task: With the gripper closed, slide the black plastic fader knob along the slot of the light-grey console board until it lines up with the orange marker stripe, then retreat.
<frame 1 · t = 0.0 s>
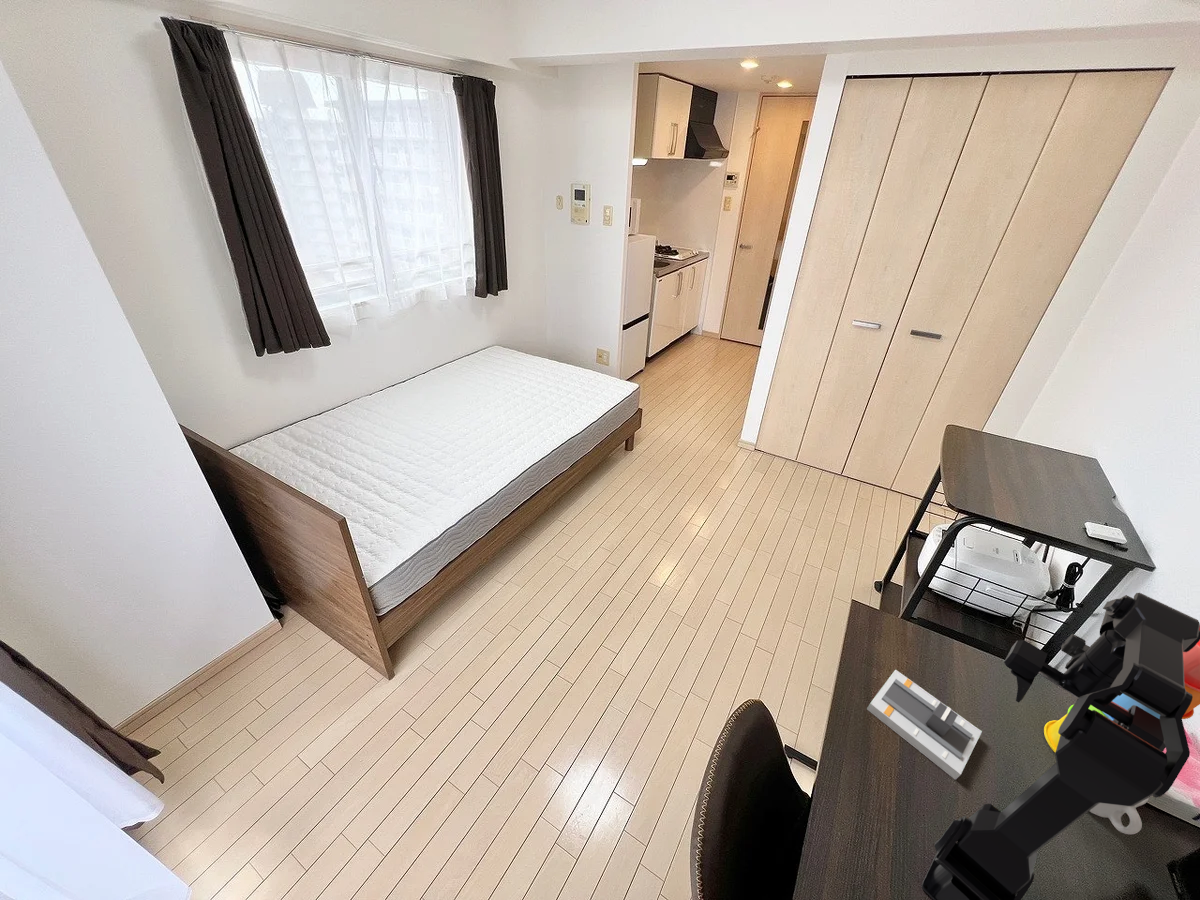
hand: (1050, 721, 80), 15 cm above the table, fingers open, 9 cm apart
fader knob: (941, 719, 90), point 4 cm above the table, slide at -2.0 cm
console board: (920, 722, 93), on the table
stacking cups: (1075, 750, 91), on the table
cup: (1092, 807, 83), on the table
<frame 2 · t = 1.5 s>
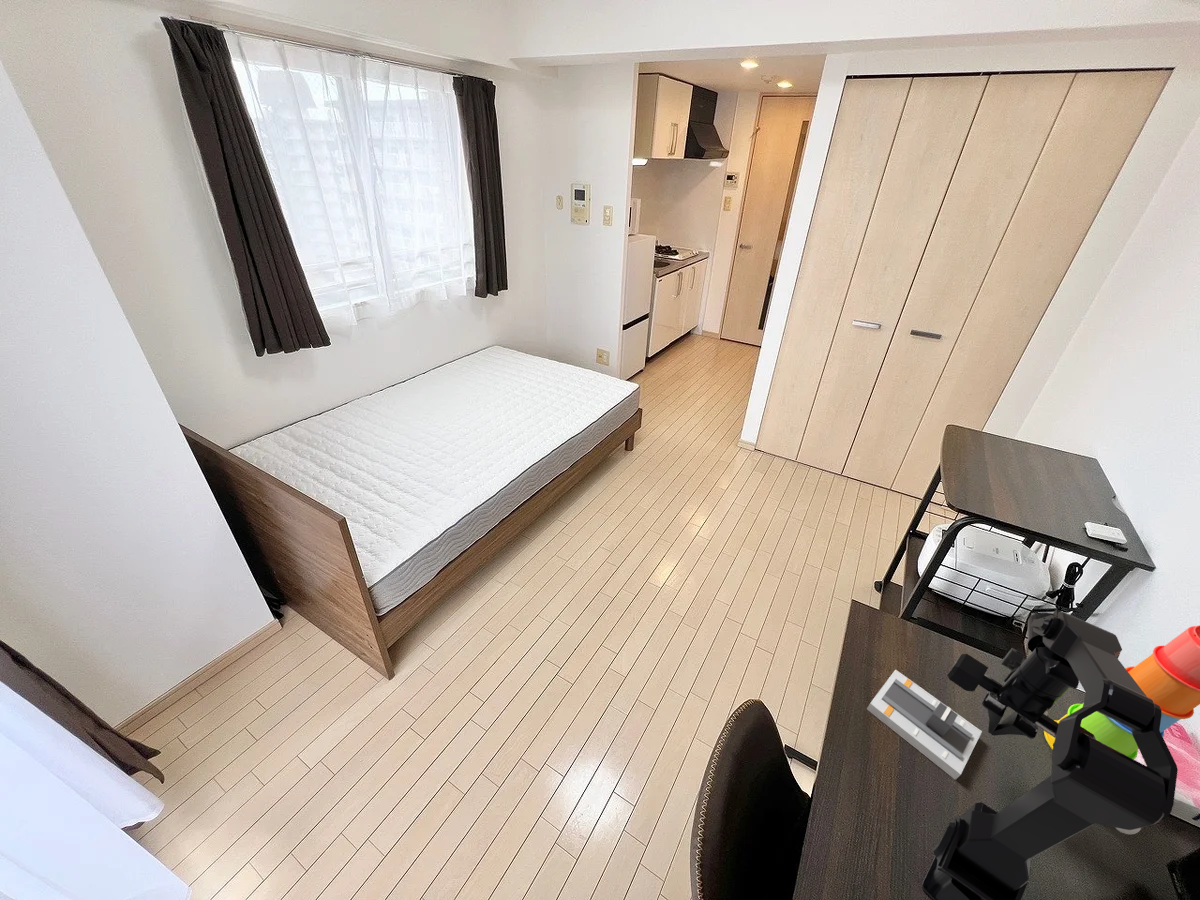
hand: (991, 732, 83), 9 cm above the table, fingers closed
nothing on the table moved.
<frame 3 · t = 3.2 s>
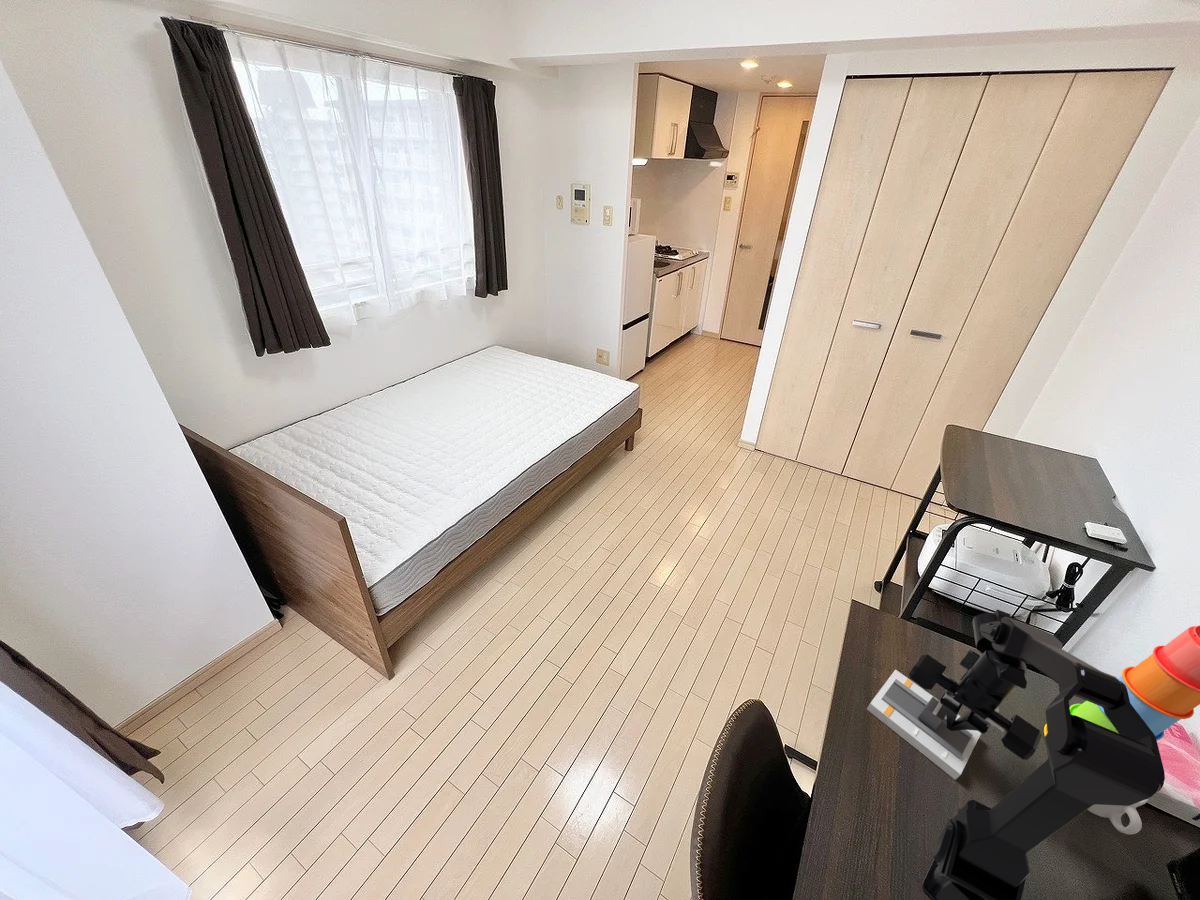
hand: (949, 727, 89), 4 cm above the table, fingers closed
fader knob: (933, 713, 91), point 4 cm above the table, slide at -0.6 cm, touching gripper
everything else where it was.
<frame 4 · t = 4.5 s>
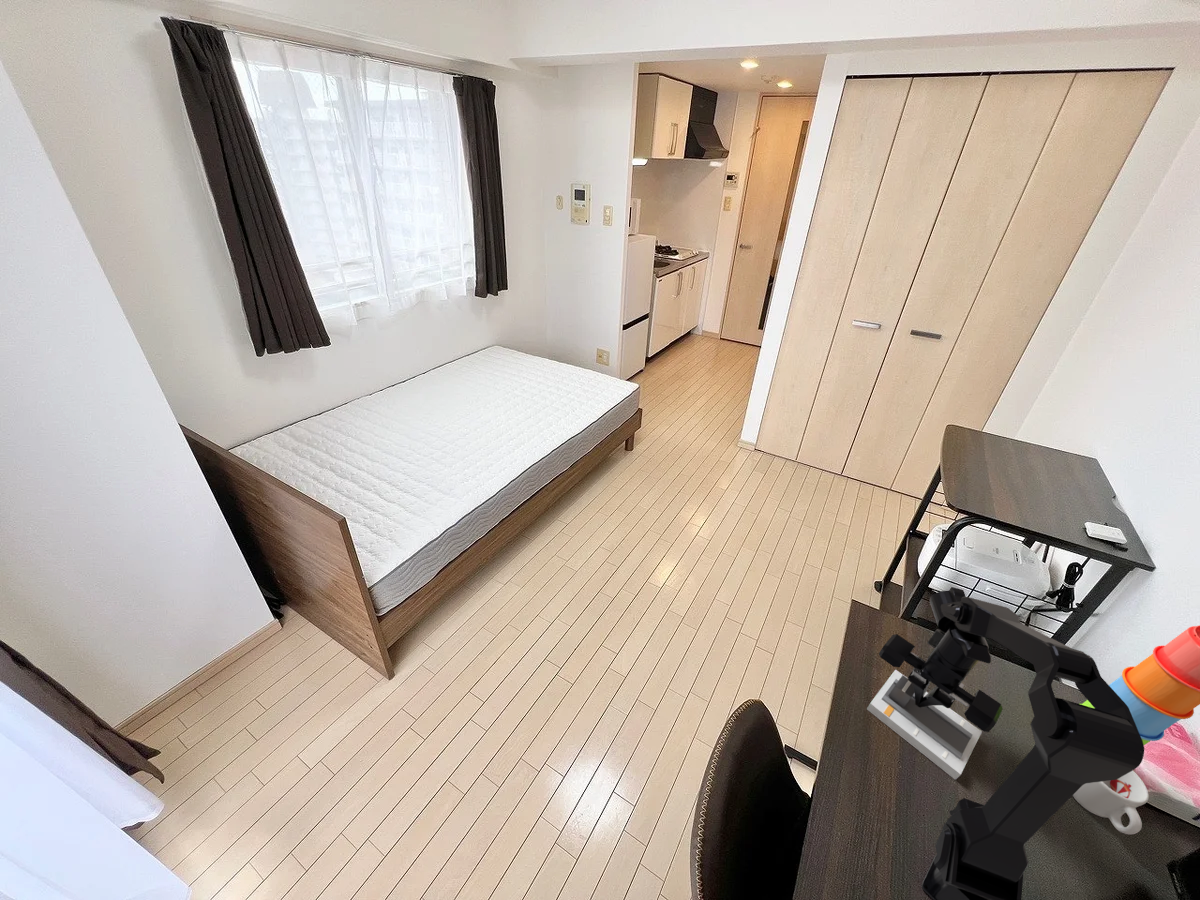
hand: (918, 704, 93), 4 cm above the table, fingers closed
fader knob: (903, 690, 94), point 4 cm above the table, slide at 4.9 cm, touching gripper
everything else where it was.
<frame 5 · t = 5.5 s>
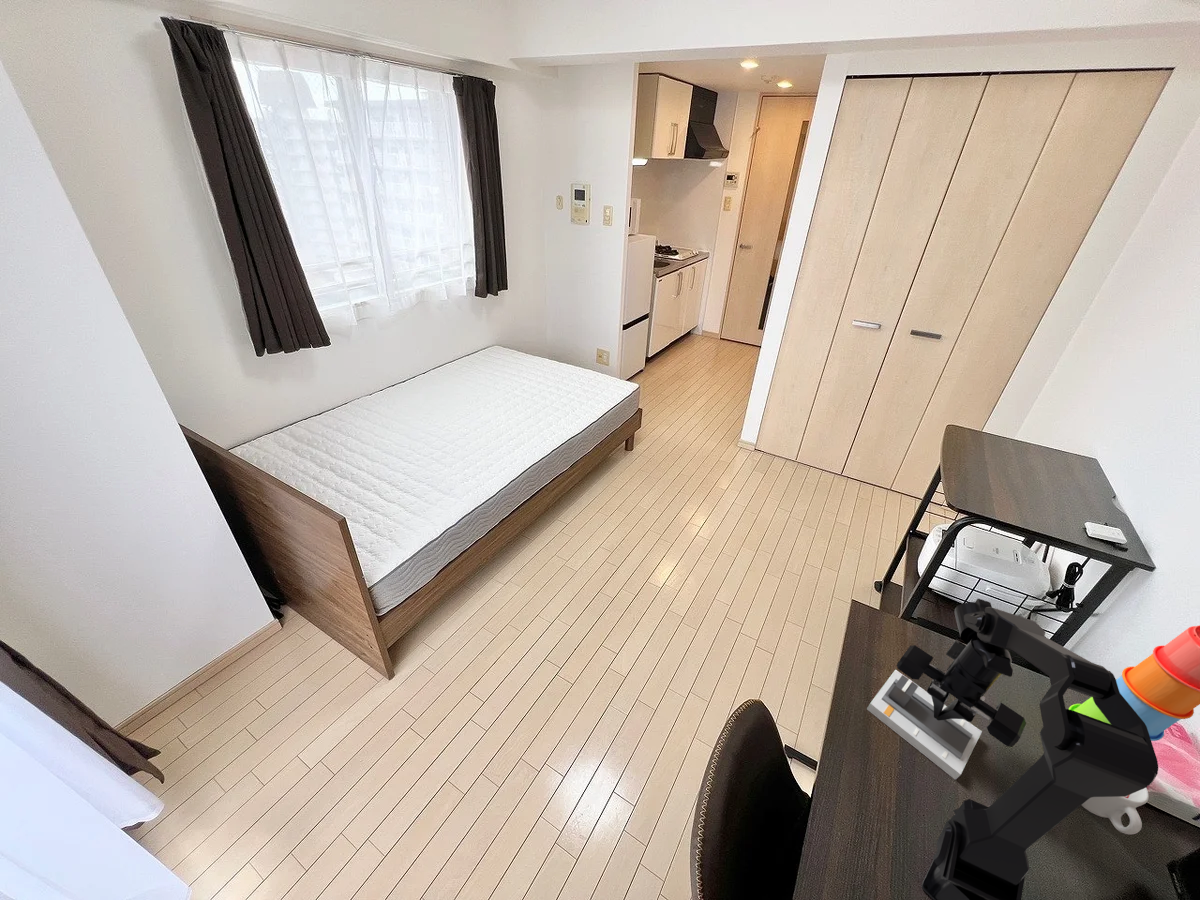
hand: (936, 717, 90), 4 cm above the table, fingers closed
fader knob: (903, 690, 94), point 4 cm above the table, slide at 5.0 cm
everything else where it was.
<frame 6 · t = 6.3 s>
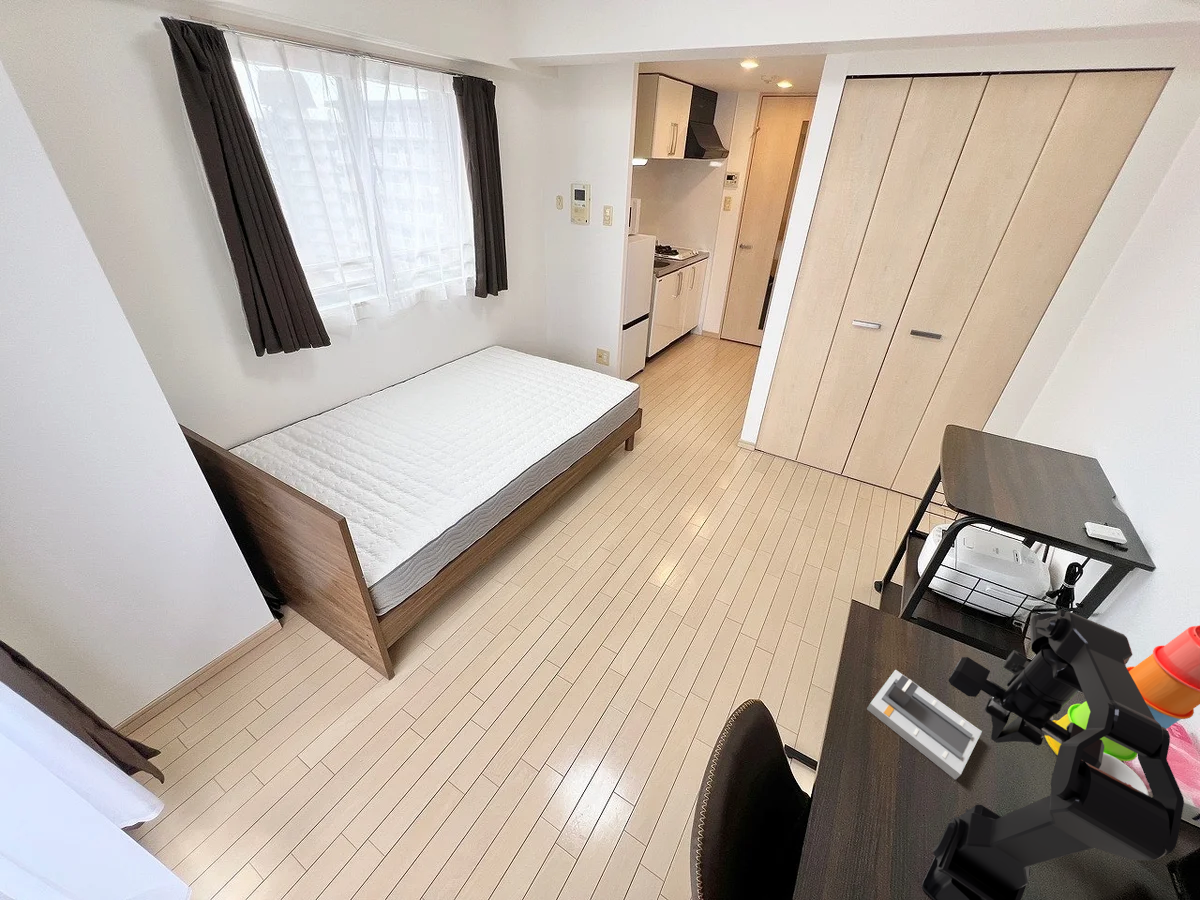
hand: (994, 739, 80), 12 cm above the table, fingers closed
nothing on the table moved.
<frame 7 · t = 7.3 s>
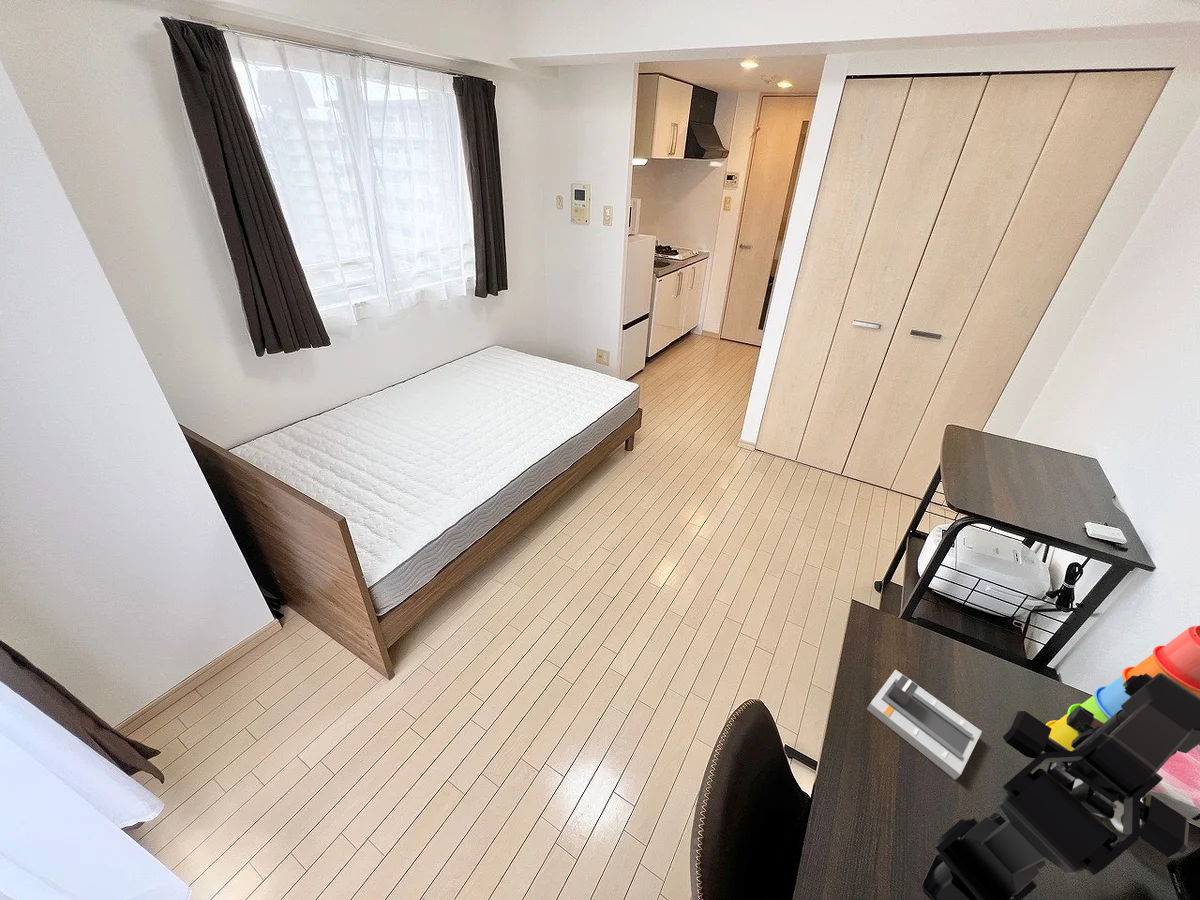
hand: (1054, 803, 72), 12 cm above the table, fingers closed
nothing on the table moved.
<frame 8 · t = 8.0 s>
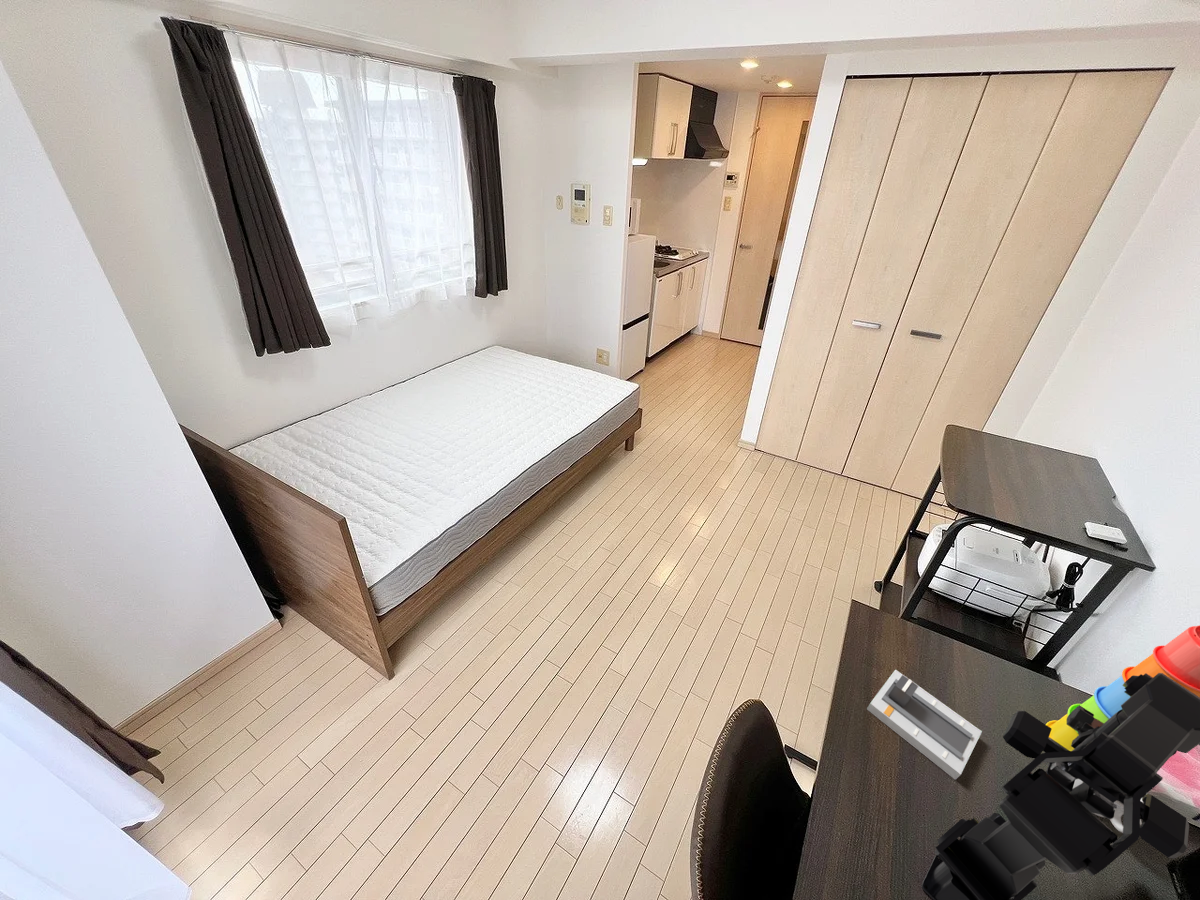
hand: (1054, 803, 72), 12 cm above the table, fingers closed
nothing on the table moved.
at the end: fader knob slide at 5.0 cm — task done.
